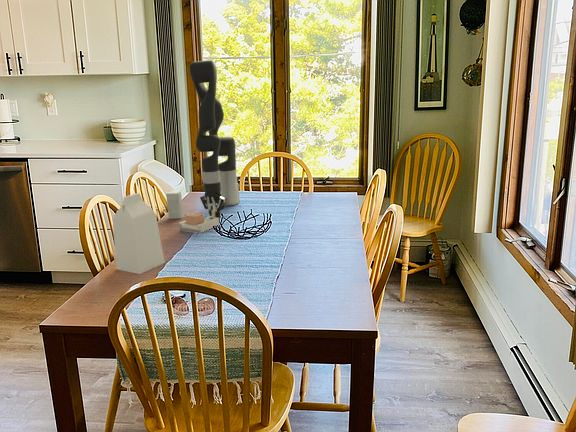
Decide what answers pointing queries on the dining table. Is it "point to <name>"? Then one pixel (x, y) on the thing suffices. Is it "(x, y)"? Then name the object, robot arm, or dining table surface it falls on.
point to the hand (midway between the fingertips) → (215, 218)
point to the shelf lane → (199, 226)
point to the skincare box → (174, 204)
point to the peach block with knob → (197, 218)
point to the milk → (136, 236)
